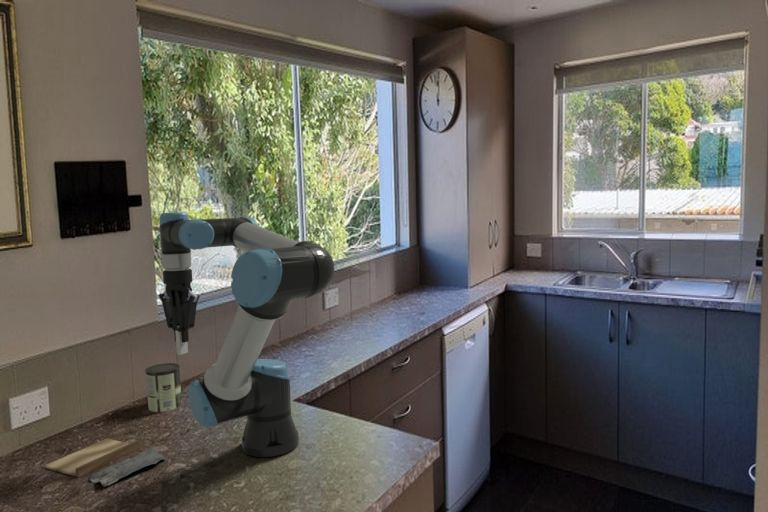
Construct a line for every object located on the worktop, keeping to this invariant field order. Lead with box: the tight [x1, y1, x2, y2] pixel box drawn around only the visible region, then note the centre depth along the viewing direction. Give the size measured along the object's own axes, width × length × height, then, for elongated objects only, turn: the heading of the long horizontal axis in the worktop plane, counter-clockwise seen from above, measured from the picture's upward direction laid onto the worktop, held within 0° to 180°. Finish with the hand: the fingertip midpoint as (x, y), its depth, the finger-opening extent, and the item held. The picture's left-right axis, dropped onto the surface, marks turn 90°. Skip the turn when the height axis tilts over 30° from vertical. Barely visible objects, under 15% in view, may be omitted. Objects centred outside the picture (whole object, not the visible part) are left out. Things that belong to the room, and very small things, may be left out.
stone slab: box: [89, 446, 166, 488], centre depth 143 cm, size 18×2×10 cm
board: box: [44, 438, 140, 478], centre depth 150 cm, size 13×18×2 cm
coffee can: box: [144, 362, 183, 413], centre depth 183 cm, size 10×10×14 cm
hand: (182, 353), depth 159 cm, fingers closed
